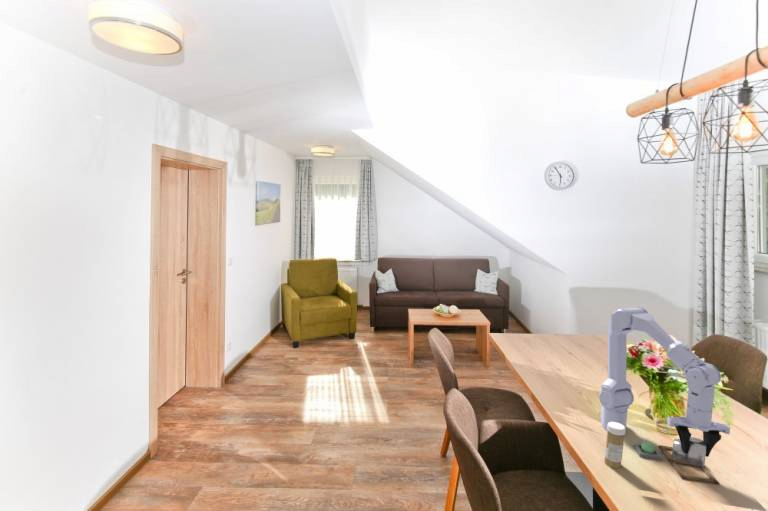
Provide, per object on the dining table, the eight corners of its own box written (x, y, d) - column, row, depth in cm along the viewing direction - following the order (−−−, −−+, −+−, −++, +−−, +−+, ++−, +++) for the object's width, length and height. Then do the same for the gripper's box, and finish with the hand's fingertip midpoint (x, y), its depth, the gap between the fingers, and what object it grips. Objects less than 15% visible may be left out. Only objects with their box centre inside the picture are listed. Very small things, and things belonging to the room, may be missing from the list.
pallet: (658, 451, 131) (658, 445, 131) (690, 456, 128) (691, 449, 128) (681, 483, 115) (681, 476, 115) (718, 489, 113) (719, 483, 112)
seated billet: (669, 456, 128) (671, 437, 127) (685, 458, 127) (687, 440, 126) (675, 464, 124) (677, 445, 123) (692, 467, 123) (694, 448, 122)
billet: (686, 463, 116) (689, 443, 115) (683, 455, 120) (685, 435, 119) (706, 468, 114) (709, 447, 113) (702, 459, 118) (704, 439, 117)
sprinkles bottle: (605, 461, 124) (609, 419, 123) (622, 468, 121) (627, 425, 120) (601, 468, 121) (605, 425, 119) (619, 475, 118) (623, 431, 116)
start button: (639, 448, 129) (640, 439, 129) (651, 450, 128) (652, 441, 128) (643, 455, 126) (643, 445, 125) (655, 456, 125) (656, 447, 125)
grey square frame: (632, 450, 131) (633, 443, 130) (654, 453, 129) (655, 446, 129) (639, 461, 125) (639, 453, 125) (661, 464, 123) (662, 456, 123)
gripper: (675, 409, 114) (671, 456, 115) (738, 417, 110) (732, 465, 111) (665, 398, 121) (661, 443, 122) (724, 406, 117) (719, 451, 118)
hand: (694, 453), depth 117 cm, fingers closed on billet, 4 cm apart
